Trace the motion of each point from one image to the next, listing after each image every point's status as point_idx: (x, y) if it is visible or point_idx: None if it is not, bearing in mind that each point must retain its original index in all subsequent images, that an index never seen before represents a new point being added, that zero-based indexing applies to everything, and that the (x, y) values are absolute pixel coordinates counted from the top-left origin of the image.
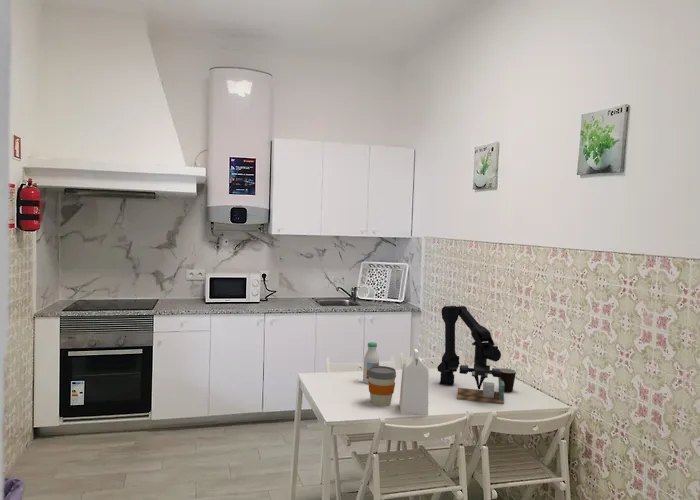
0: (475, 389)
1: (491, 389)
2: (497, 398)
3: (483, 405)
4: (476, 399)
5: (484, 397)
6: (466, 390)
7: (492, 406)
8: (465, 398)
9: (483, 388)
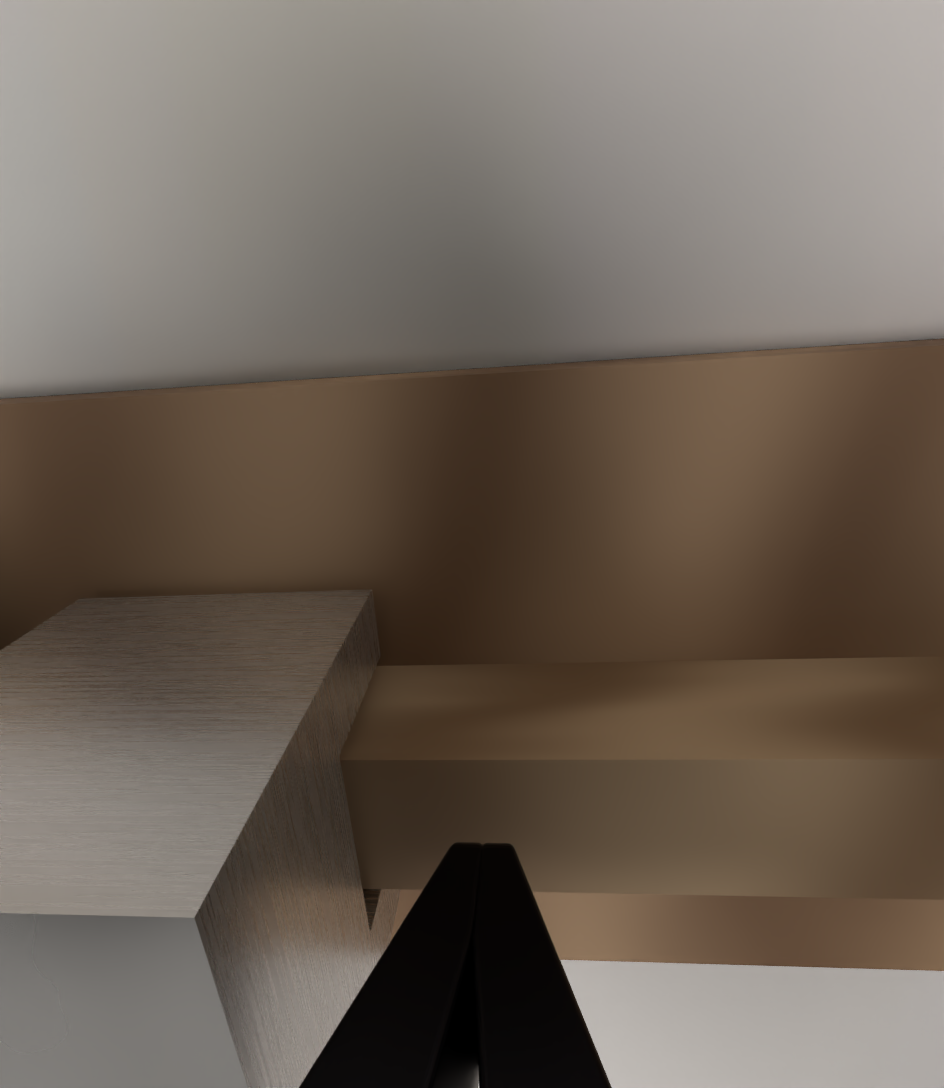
0: (598, 887)
1: None
2: None
3: (294, 12)
4: (538, 369)
5: None
6: (919, 747)
7: (25, 44)
8: (900, 347)
9: (257, 764)
